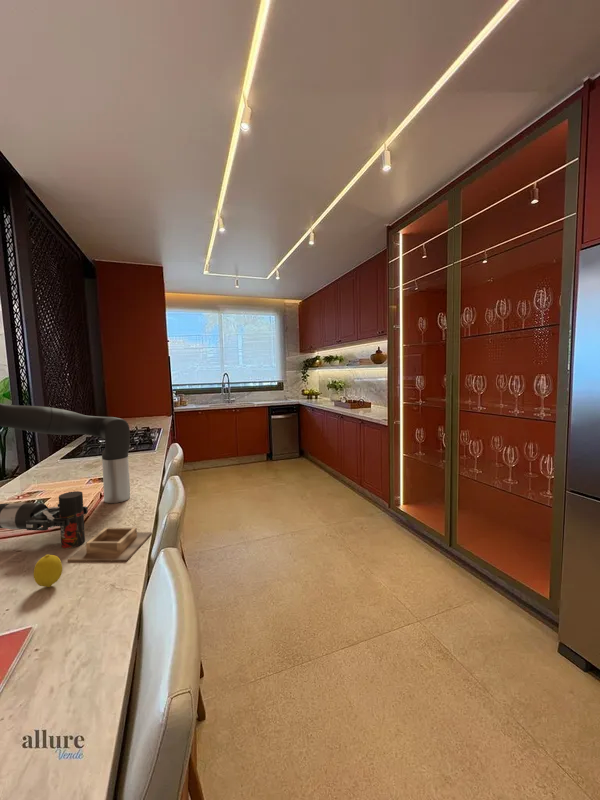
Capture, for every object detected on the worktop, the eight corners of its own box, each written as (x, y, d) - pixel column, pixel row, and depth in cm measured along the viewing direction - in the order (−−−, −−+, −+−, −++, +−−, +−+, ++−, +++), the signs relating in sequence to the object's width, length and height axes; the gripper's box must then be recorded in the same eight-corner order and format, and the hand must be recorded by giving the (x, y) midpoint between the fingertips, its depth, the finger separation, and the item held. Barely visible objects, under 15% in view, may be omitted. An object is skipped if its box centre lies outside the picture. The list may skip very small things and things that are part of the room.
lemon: (68, 582, 84) (66, 551, 84) (45, 596, 79) (43, 562, 79) (52, 578, 86) (50, 547, 86) (28, 591, 81) (26, 558, 80)
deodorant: (89, 539, 106) (87, 491, 105) (75, 548, 100) (72, 498, 99) (71, 538, 107) (69, 491, 106) (56, 547, 101) (53, 498, 100)
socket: (101, 534, 110) (101, 523, 109) (151, 534, 110) (151, 523, 109) (67, 561, 94) (66, 548, 93) (126, 561, 94) (125, 549, 93)
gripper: (2, 513, 96) (61, 513, 96) (41, 495, 110) (92, 495, 110) (4, 539, 96) (62, 539, 96) (42, 517, 110) (93, 518, 110)
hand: (78, 515), depth 103 cm, fingers open, 8 cm apart
